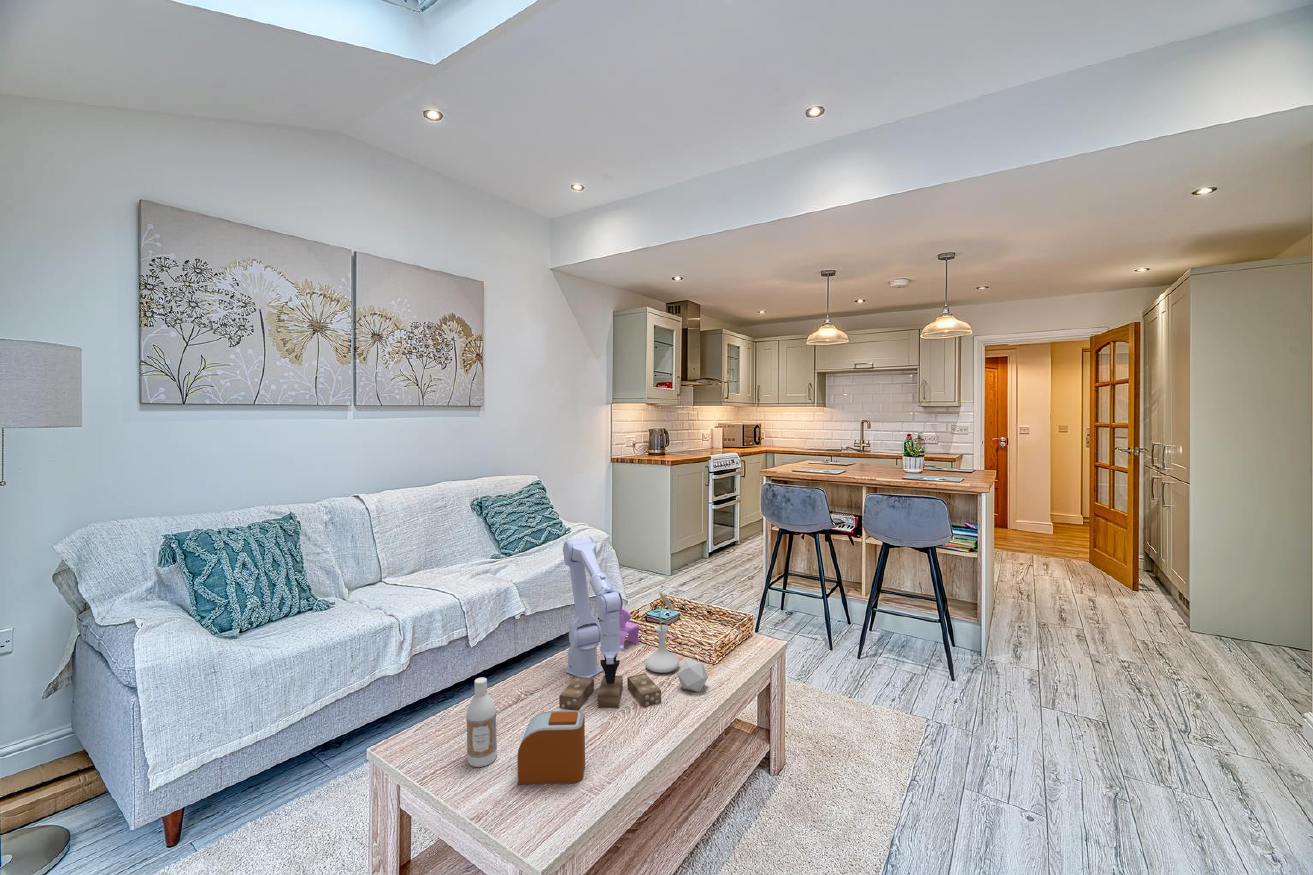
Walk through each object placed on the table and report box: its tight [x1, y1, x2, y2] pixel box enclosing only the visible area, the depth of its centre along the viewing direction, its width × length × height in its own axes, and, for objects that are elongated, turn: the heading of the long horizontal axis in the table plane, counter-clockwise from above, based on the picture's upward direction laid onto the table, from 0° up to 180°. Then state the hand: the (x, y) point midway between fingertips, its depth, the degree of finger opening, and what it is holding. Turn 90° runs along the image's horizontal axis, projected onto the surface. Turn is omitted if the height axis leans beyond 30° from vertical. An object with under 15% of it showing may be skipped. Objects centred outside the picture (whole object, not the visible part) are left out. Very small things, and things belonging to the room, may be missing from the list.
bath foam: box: [466, 676, 498, 768], centre depth 135 cm, size 7×7×20 cm
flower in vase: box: [645, 591, 680, 673], centre depth 183 cm, size 13×11×25 cm
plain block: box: [597, 675, 624, 709], centre depth 164 cm, size 12×6×4 cm, turn 178°
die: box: [676, 659, 709, 693], centre depth 169 cm, size 8×9×10 cm
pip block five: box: [626, 672, 662, 708], centre depth 165 cm, size 12×6×4 cm, turn 24°
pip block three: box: [558, 676, 595, 711], centre depth 164 cm, size 12×6×4 cm, turn 165°
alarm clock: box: [516, 710, 586, 785], centre depth 130 cm, size 15×8×14 cm, turn 91°
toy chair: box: [619, 607, 640, 653], centre depth 201 cm, size 8×9×15 cm
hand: (610, 677), depth 164 cm, fingers open, 7 cm apart
